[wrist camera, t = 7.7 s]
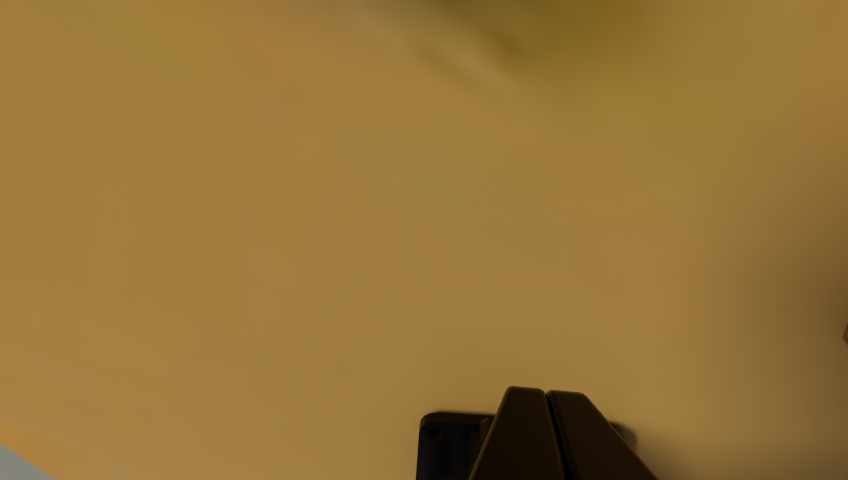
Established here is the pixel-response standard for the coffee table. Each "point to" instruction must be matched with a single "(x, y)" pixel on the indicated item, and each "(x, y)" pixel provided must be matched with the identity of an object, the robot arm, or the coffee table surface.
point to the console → (846, 335)
